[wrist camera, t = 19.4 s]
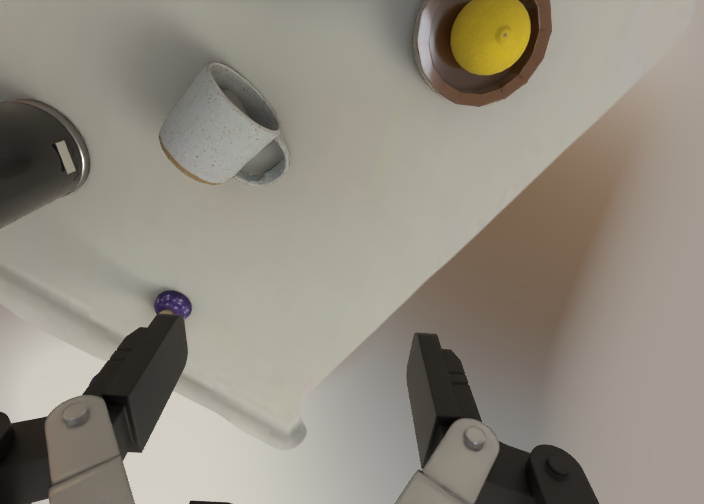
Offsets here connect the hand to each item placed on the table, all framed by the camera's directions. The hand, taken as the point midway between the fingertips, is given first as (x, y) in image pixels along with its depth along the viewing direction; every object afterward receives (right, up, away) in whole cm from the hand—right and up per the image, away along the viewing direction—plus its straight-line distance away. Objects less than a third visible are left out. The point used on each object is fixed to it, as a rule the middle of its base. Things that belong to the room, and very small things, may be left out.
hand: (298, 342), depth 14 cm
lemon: (+12, +22, +20) cm, 32 cm away
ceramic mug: (-9, +15, +25) cm, 30 cm away
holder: (+12, +22, +21) cm, 33 cm away
